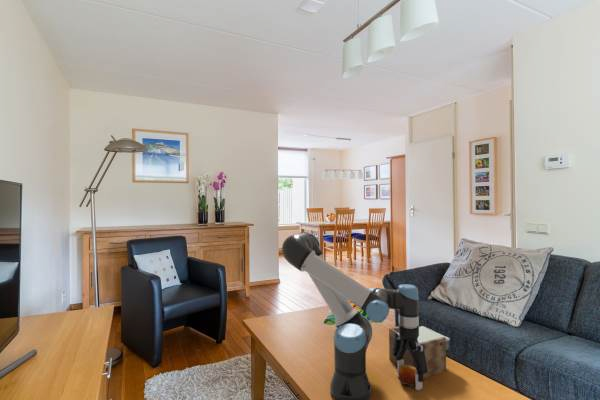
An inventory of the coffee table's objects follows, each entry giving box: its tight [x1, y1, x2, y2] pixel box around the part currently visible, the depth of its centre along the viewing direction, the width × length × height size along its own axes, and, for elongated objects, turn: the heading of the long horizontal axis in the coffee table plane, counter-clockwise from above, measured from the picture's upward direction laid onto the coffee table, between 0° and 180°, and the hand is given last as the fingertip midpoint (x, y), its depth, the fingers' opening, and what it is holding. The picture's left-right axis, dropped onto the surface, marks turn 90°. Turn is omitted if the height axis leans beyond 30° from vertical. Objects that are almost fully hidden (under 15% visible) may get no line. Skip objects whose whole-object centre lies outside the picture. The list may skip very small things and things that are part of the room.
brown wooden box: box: [388, 325, 447, 379], centre depth 140 cm, size 15×19×14 cm
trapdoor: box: [417, 325, 451, 351], centre depth 141 cm, size 17×15×5 cm
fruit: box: [398, 365, 417, 389], centre depth 126 cm, size 8×8×8 cm
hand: (409, 382), depth 127 cm, fingers open, 9 cm apart
